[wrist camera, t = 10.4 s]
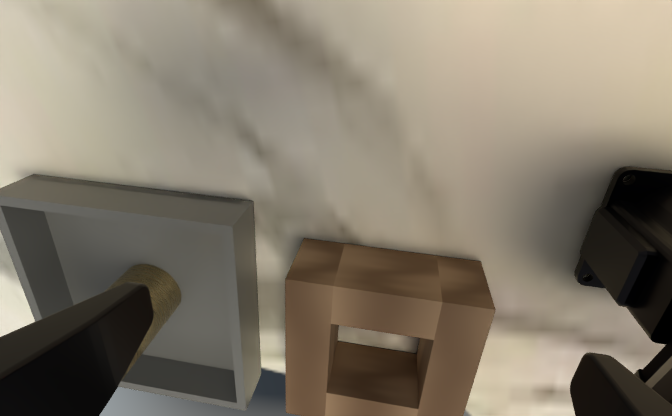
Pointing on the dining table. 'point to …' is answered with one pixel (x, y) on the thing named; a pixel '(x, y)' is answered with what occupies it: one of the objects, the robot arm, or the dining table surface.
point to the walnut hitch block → (385, 316)
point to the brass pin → (153, 298)
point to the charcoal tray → (154, 249)
